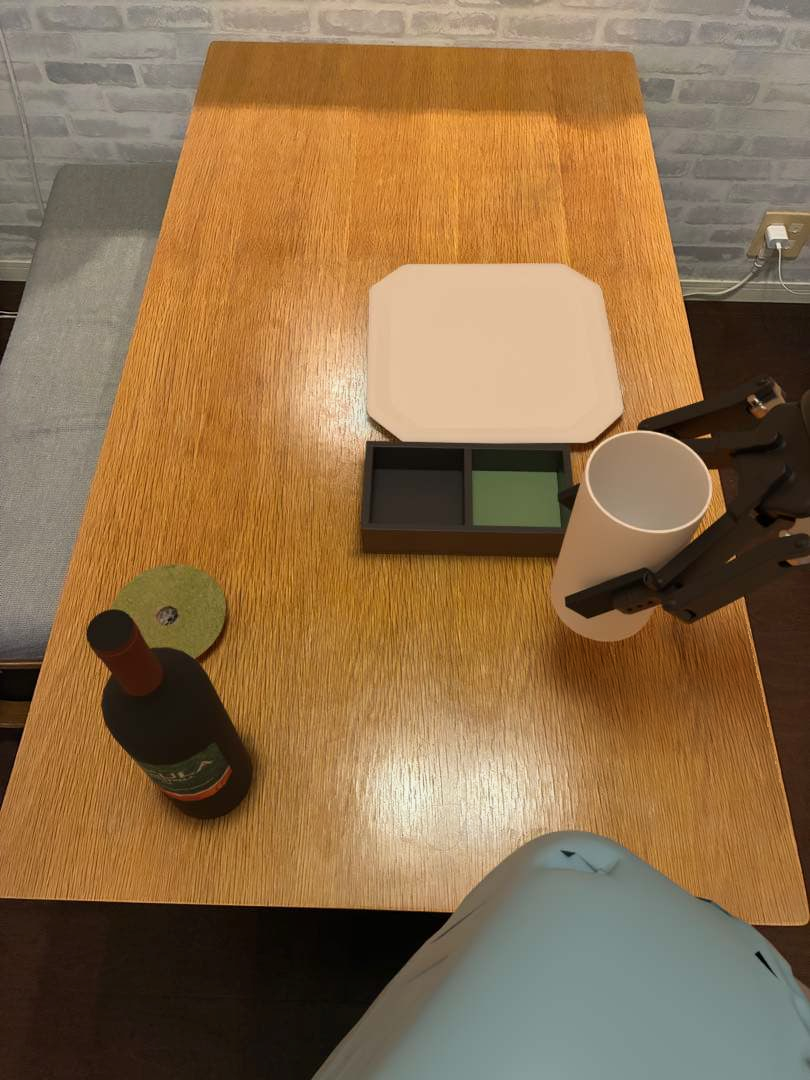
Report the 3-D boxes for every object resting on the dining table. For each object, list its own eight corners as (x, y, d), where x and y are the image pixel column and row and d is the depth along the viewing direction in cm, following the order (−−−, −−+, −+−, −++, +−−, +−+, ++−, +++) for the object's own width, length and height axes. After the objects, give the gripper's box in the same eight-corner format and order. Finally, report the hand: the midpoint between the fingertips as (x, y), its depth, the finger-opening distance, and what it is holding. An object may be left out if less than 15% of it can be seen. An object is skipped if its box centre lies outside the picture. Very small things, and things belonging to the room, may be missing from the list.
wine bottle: (268, 755, 77) (199, 601, 51) (224, 834, 73) (126, 711, 48) (196, 721, 78) (94, 556, 53) (150, 797, 75) (17, 659, 49)
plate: (626, 453, 94) (631, 441, 93) (366, 455, 94) (365, 442, 93) (594, 274, 110) (597, 261, 108) (370, 276, 110) (369, 262, 108)
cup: (598, 661, 66) (647, 556, 52) (529, 585, 69) (558, 468, 56) (674, 605, 68) (740, 491, 55) (604, 534, 72) (649, 410, 58)
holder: (570, 557, 87) (578, 533, 84) (362, 553, 88) (360, 529, 84) (562, 470, 93) (569, 444, 89) (367, 466, 94) (366, 440, 90)
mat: (136, 565, 87) (131, 555, 85) (242, 581, 86) (239, 572, 84) (97, 666, 81) (90, 657, 80) (210, 684, 80) (206, 676, 79)
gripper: (971, 605, 46) (613, 702, 60) (873, 325, 57) (590, 463, 71) (922, 552, 42) (548, 671, 56) (826, 260, 53) (534, 421, 67)
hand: (572, 554), depth 63 cm, fingers closed on cup, 8 cm apart
